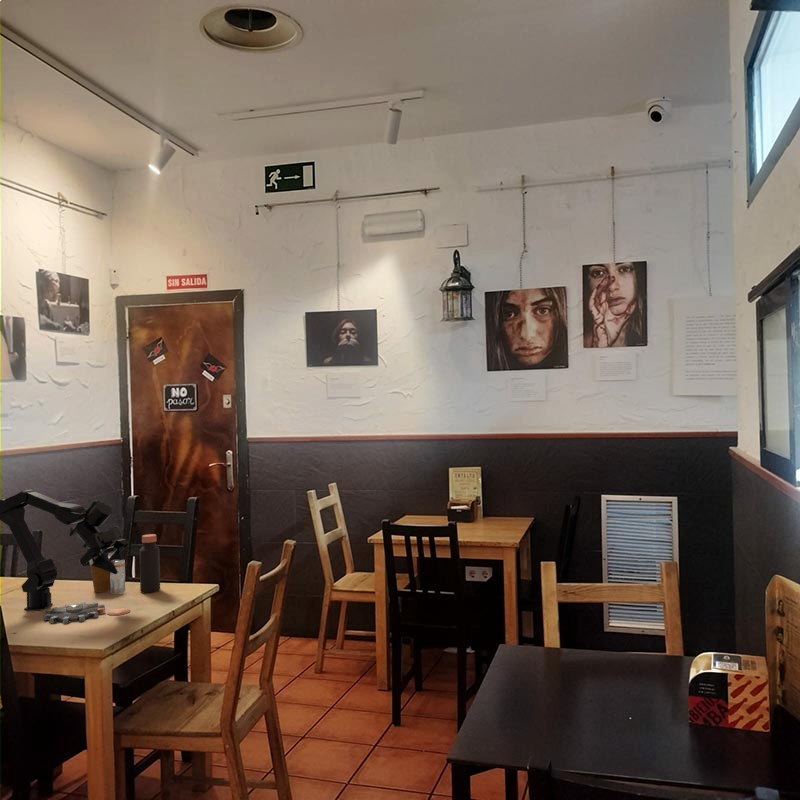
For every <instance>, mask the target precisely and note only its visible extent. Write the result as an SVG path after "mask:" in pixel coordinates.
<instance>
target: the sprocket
mask: <svg viewBox="0 0 800 800" xmlns="http://www.w3.org/2000/svg"><path fill="white" fill-rule="evenodd" d="M105 607H106V606H105V604H99V603H98V602H92V603H87V602H86V601H85V602H77V603H68V604H65V606H62V607H58V606H55V607H51V610H46V611H45V612H44V613H43V621H44V622H47V621H46V620H48V621H49V623H50V624H55V623H58V622H62V624H69V623H70V622H75V621H76V622H77V621H78V622H85V621H86V619H95V618H98V617H99V615H104V614H105V613H106V612H105V611H106V609H105Z"/></svg>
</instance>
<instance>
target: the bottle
mask: <svg viewBox="0 0 800 800" xmlns="http://www.w3.org/2000/svg"><path fill="white" fill-rule="evenodd" d="M141 542H142V543H141V544H142V547H141V548H140V549H139V583H140V584H139V585H140V586H139V589H140V592H141V593H143V594H153V593H157V592H160V590H161V563H160V561H161V560H160V559H161V558H160V557H161V555H160V553H161V552H160V551H161V550H160V547H158V545H157V544H156V543H157V534H155V533H152V534H151V533H150V534H144V535H141Z"/></svg>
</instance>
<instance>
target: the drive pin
mask: <svg viewBox="0 0 800 800" xmlns="http://www.w3.org/2000/svg"><path fill="white" fill-rule="evenodd" d="M123 559H124V558H123ZM123 559H117V560H112V561H111V562H112V564H113V565H114V566H115V568H116V569H117V571H118V573H117V574H113V573H111V572H110V584H111V591H110V594H122V593H125V592H126V570H125V564H126V561H125V559H124V560H123Z"/></svg>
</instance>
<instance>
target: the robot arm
mask: <svg viewBox="0 0 800 800" xmlns="http://www.w3.org/2000/svg"><path fill="white" fill-rule="evenodd" d="M27 506H31V507H34V508H36V509H39V510H41V511H43V512H46V513H48V514H51V515H53V516H54V517H55V520H57V521H58V522H60V523H61V524H62V525H66V526H69V525H73V524H75V526H72V527H70V529H69V534H68V535H69V537H73V536H78V538H79V539H80V540H81V541H82V542H83V543H84V544H83V545H82V547H83V548H84V549H87V548H88V549H87V550H86V551H85V552H84V553H83V555H82V556H81V557H80V558H79V564H80V565H81V566H82V568H86V567H89V566H90V562H89V561H90V560H91V559H92V560H93V562H94V563H93V564H92V565H91V566H92V567H93V566H95V567H98V568H100V569H103V570H106V571H108V572H111V573H113V574H117V573H118V571H117V569H116V568H115V566H114V565H113V564H112V562H111V561H112V560H117V559H123V560H125V559H124V556H123V551H124V550H125V549H126V548H127V547H128V546H129V545H130V542H129V541H128V540H127V538H122V537H123V534H124V529H123V528H122V527H121V526H120V525H115V526H114V527H111V529H108V530H107V531H100V530H99V529H98V527H102V525H103V524H104V523H105V522H106V521H107V520H108V518H110V516H111V515H112V514H113V510H112V508H111V506H109V505H108V504H106V503H104V502H101V501H100V500H99V499H98V500H97V499H96V500H94V501H93V502H92V503H91V505H90V506H89V508H85V507H84V506H83V505H82V504H81V505H80V504H75V503H69V502H67V503H66V502H61V501H59V500H57V499H54V498H52V497H49V496H47V495H44V494H43V493H39V492H37V491H36V490H35V489H25V490H21V491H20V492H18V493H17V494H14V495H11V496H9V497H7V498H3V499H0V521H1V522H2V523H4V524H5V525H6V526H8V528H9V530H10V532H11V534H12V536H13V538H14V540H15V541H16V544H17V546H18V547H19V550H20V552H21V554H22V556H23V557H24V559H25V562H26V564H27V565H26V576H27V579H26V580H25V581H24V582H23V583H22V584H21V589H22V592H23V593H26V607H24V609H23V610H24V611H44V610H45V609H47V608H49V607H51V606H52V605H53V603H52V592H51V591H50V587H51V588H52V587H54V584H55V581H56V579H57V576H58V571H57V569H58V567H57V566H55V563H54V560H53V559H52V558H46V557H44V556H43V554H42V553H41V551H40V548H39V546H38V544H37V543H36V541H35V539H34V538H35V537H33V534H32V532H31V530H30V528H29V526H28V525H27V522H26V520H25V515H26V509H25V508H26V507H27ZM118 538H121V539H118ZM117 539H118V540H117ZM115 540H116V541H115ZM108 556H109V557H110V558H108ZM91 566H90V567H91ZM127 570H128V569H127V565H126V563H125V571H127Z"/></svg>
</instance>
